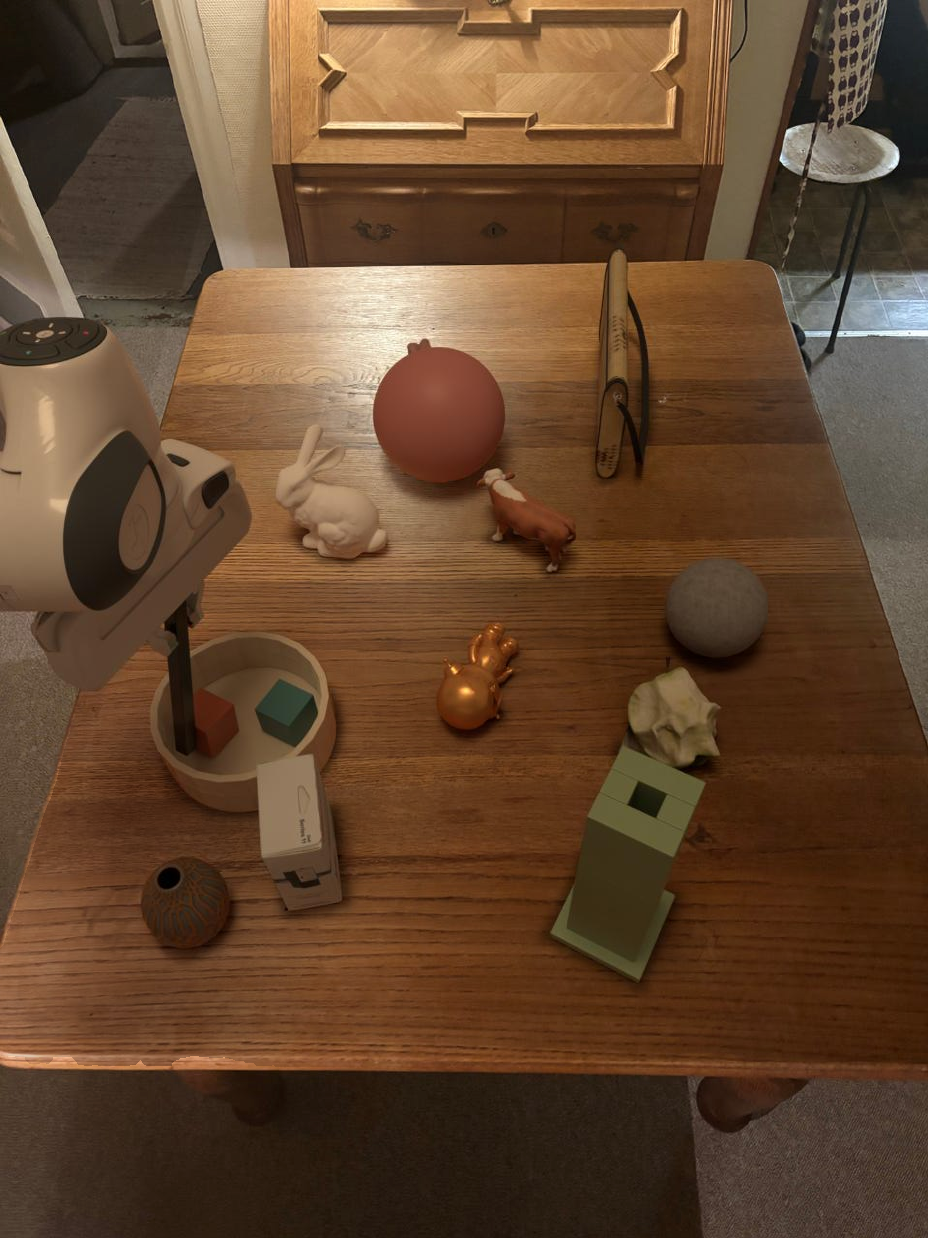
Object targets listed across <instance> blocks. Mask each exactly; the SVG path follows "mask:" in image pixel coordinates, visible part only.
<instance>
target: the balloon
mask: <svg viewBox="0 0 928 1238" xmlns="http://www.w3.org/2000/svg"><path fill="white" fill-rule="evenodd" d="M406 349H407V355H405V356H403V357H402V358H400V359H399V360H397V362H395V363H394V364H393V365H392V366H391V367H390V368H389V369H388V371H386V373H385V374H384V376H383V378H381V381H380V383H379V385H378V387H377V390H376V392H375V395H374V399H373V405H372V421H373V422H372V423H373V430H374V432H375V436H376V439H377V441H378V444H379V446H380V448H381V450H382V451H383V453H384V454H385V456H386V457H387V459H388V460H389V461H390V462H391V463H392V464H393V465H394V466H395V467H396V468H398V469H399V470H401V472H403V473H405V474H407V475H409V476H410V477H412V478H415V479H417V480H420V481H424V482H428V483H450V482H454V481H459V480H462V479H464V478H467V477H468V476H470V475H472V474H474V473H475V472H477V471H478V470H480V469H481V468H483V466H484V465H486V464H487V462H489V460H490V459H491V458H492V456H493V455H494V453H495V452H496V450H497V448H498V447H499V444H500V442H501V439H502V437H503V433H504V429H505V423H506V407H505V400H504V395H503V393H502V391H501V388H500V385H499V384H498V381H497V379H495V377H494V376H493V373H491V371H490V370H489V369H488V368H487V367H486V366H485V364H483V363H482V362H481V361H480V360H478V359H477V358H475V357H474V356H472V355H471V354H468V353H467V352H464V351H462V350H459V349H456V348H451V347H445V346H433V347H432V346H431V341H430V340H429V339H427V338H422V339H421V340H420V341H419V343H418V342H409V343H408V344H407V345H406Z"/></svg>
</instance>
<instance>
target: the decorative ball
mask: <svg viewBox="0 0 928 1238" xmlns="http://www.w3.org/2000/svg"><path fill="white" fill-rule="evenodd" d="M664 605H665V606H664V608H665V611H664V613H665V618H666V622H667V625H668V627H669V630H670V632H671V633H672V635H673V637H674V638H675V639H676V640H677V641H678V642H679V643H680V644H681V645H682V646H683V647H684V648H686V649H688V651H690V652H692V653H695V654H697V655H700V656H702V657H708V658H715V659H716V658H727V657H730V656H735V655H737V654H740V653H741V652H743V651H745V650H746V649H748V648H750V647H751V646H752V645H753V644H754V643H756V641H757V640H758V639H759V637H760V636H761V634H762V633H763V632H764V630H765V627H766V624H767V622H768V618H769V610H770V606H769V597H768V593H767V590H766V588H765V586H764V584H763V583H762V581H761V579H760V578H759V577H758V575H757V574H756V573H755V572H754V571H753V570H752V569H751V568H749V567H748V566H746V565H745V564H743V563H741V562H739V561H736V560H733V559H730V558H725V557H709V558H704V559H701V560H697V561H695V562H694V563H692V564H689V565H688V566H687V567H685V568H684V569H683V570H681V571H680V572H679V573H678V574H677V576H676V577H675V578H674V580H673V581H672V583H671V584H670V585H669V588H668V591H667V594H666V597H665V604H664Z"/></svg>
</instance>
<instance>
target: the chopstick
mask: <svg viewBox="0 0 928 1238" xmlns="http://www.w3.org/2000/svg"><path fill="white" fill-rule="evenodd" d="M163 628H164V630H165V631H170V632H172V633H174V634H175V636H176V641H178V643H179V644H178V645H177V647H176V648H175V649H174V650H173V651H172V652H171V654H170V655H169V656H168V657H166V659H167V670H168V671H167V673H168V672H169V683H170V693H171V704H172V715H173V726H174V736H175V747H176V751H178V752H179V753H181V754H183V755H185V756H188V755H189V754H191V753H192V752H193V751H194V750H195V749H197V741H196V727H195V714H194V700H193V687H192V673H191V659H190V651H191V648H190V633H189V627H188V619H187V605H186V599H185V600H184V602H183V603H182V604H181V605H180V606H179V607H178V608H177V609H176V610H175V611H174V612H173V613H172V614H171V615H170V616H169V618H168V619H167V620H166V621H165V622H164V623H163Z"/></svg>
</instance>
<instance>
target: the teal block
mask: <svg viewBox="0 0 928 1238" xmlns="http://www.w3.org/2000/svg"><path fill="white" fill-rule="evenodd" d="M255 712H256V715H257V717H258V720H259V723H260V725H261V728H262V731H263V732H265V733H267V734H269V735H271V736H273V737H275V738H277V739H279V740H281V741H283V742H285V743H287V744H289V745H291V746H293V747H296V746H297V745H298V744H299V743H300V742H301V741H302V740H303V738H304V737H305V736H306V734H307V733H308V732H309V730H310V729H311V727H312V725H313V724H314V722H315V720H316V718H317V716H318V710H317V706H316V703H315V699H314V695H313V694H311V693H309V692H307V691H304V690H302V689H300V688H298V687H296V686H294V685H292V684H290V683H288V682H286V681H284V680H281V679H279V680H278V681H277V682H276V683H275V684H274V686H273V687H272V688H271V689H270V691H269V692H268V693H267V694H266V696H265V697H264V698H263V699H262V701H261V702H260V703H259V704H258V706H257V707H256V708H255Z"/></svg>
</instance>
